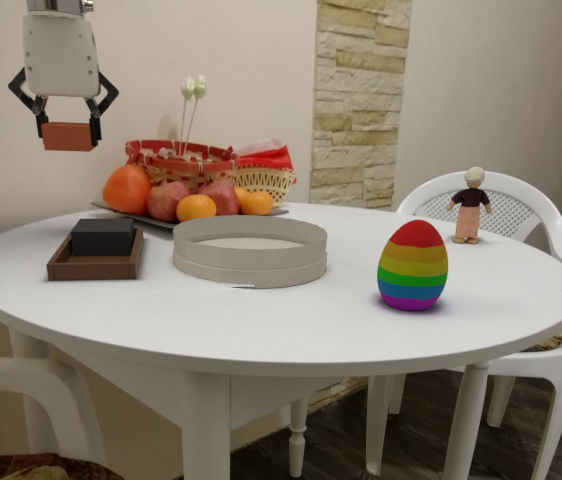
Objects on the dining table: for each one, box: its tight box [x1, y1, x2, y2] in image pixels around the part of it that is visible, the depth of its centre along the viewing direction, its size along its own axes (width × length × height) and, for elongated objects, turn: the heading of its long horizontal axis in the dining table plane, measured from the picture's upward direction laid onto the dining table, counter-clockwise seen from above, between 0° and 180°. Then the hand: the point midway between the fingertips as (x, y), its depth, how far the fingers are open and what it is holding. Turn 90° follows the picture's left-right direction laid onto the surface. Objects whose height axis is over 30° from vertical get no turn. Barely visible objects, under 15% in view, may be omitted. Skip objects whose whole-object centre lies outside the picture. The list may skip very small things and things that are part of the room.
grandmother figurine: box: [446, 166, 493, 245], centre depth 95 cm, size 8×4×13 cm, turn 97°
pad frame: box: [45, 226, 145, 282], centre depth 78 cm, size 11×22×3 cm, turn 10°
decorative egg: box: [376, 219, 449, 312], centre depth 64 cm, size 8×8×10 cm
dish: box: [172, 214, 328, 289], centre depth 78 cm, size 22×22×5 cm
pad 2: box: [70, 218, 135, 256], centre depth 82 cm, size 8×9×4 cm
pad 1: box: [41, 121, 97, 153], centre depth 84 cm, size 6×9×4 cm
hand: (71, 143), depth 85 cm, fingers closed on pad 1, 6 cm apart
